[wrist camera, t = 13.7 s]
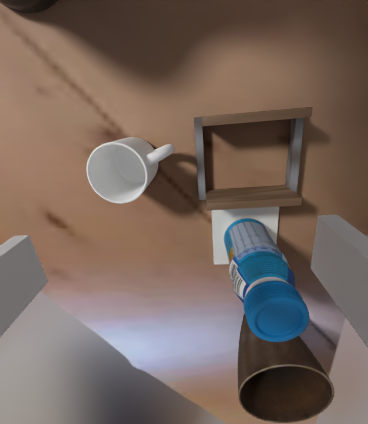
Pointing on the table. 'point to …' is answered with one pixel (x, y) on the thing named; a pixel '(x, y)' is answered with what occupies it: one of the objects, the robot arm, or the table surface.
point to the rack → (254, 195)
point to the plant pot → (280, 379)
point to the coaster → (228, 216)
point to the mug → (124, 168)
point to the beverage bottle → (264, 282)
